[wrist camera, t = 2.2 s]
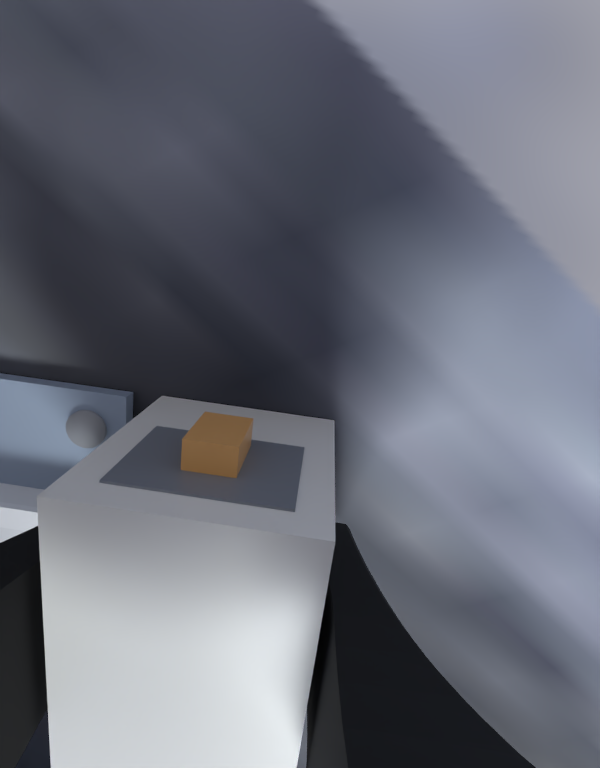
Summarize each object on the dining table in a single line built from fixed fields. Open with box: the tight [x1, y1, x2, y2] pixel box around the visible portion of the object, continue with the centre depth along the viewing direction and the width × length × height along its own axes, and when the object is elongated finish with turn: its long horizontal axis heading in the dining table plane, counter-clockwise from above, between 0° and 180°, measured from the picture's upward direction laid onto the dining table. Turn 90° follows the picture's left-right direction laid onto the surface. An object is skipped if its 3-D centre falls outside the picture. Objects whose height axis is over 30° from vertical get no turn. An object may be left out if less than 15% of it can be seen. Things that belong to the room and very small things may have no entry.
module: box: [37, 396, 335, 768], centre depth 10 cm, size 7×4×5 cm
